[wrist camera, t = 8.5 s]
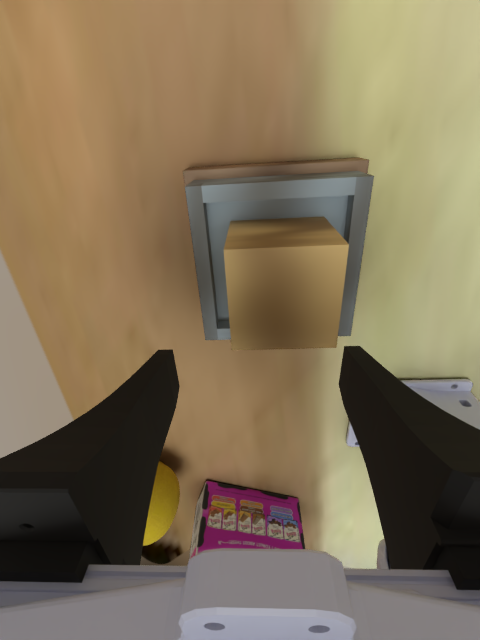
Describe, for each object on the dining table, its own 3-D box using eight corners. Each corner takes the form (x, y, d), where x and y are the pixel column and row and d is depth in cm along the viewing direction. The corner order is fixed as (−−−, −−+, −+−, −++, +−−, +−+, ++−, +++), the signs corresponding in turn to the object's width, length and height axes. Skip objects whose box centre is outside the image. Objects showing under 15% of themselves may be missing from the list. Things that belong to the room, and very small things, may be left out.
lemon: (123, 457, 33) (89, 541, 26) (162, 438, 32) (137, 523, 25) (158, 484, 35) (136, 568, 29) (196, 467, 34) (182, 552, 27)
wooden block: (324, 216, 17) (349, 244, 12) (317, 300, 19) (336, 347, 15) (230, 220, 17) (223, 249, 13) (235, 302, 20) (231, 350, 15)
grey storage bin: (358, 157, 18) (386, 163, 15) (340, 308, 23) (357, 342, 20) (189, 167, 19) (173, 176, 15) (207, 312, 24) (198, 346, 20)
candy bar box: (196, 502, 37) (162, 728, 23) (205, 477, 35) (174, 714, 21) (285, 519, 38) (305, 743, 24) (300, 497, 36) (332, 732, 22)
